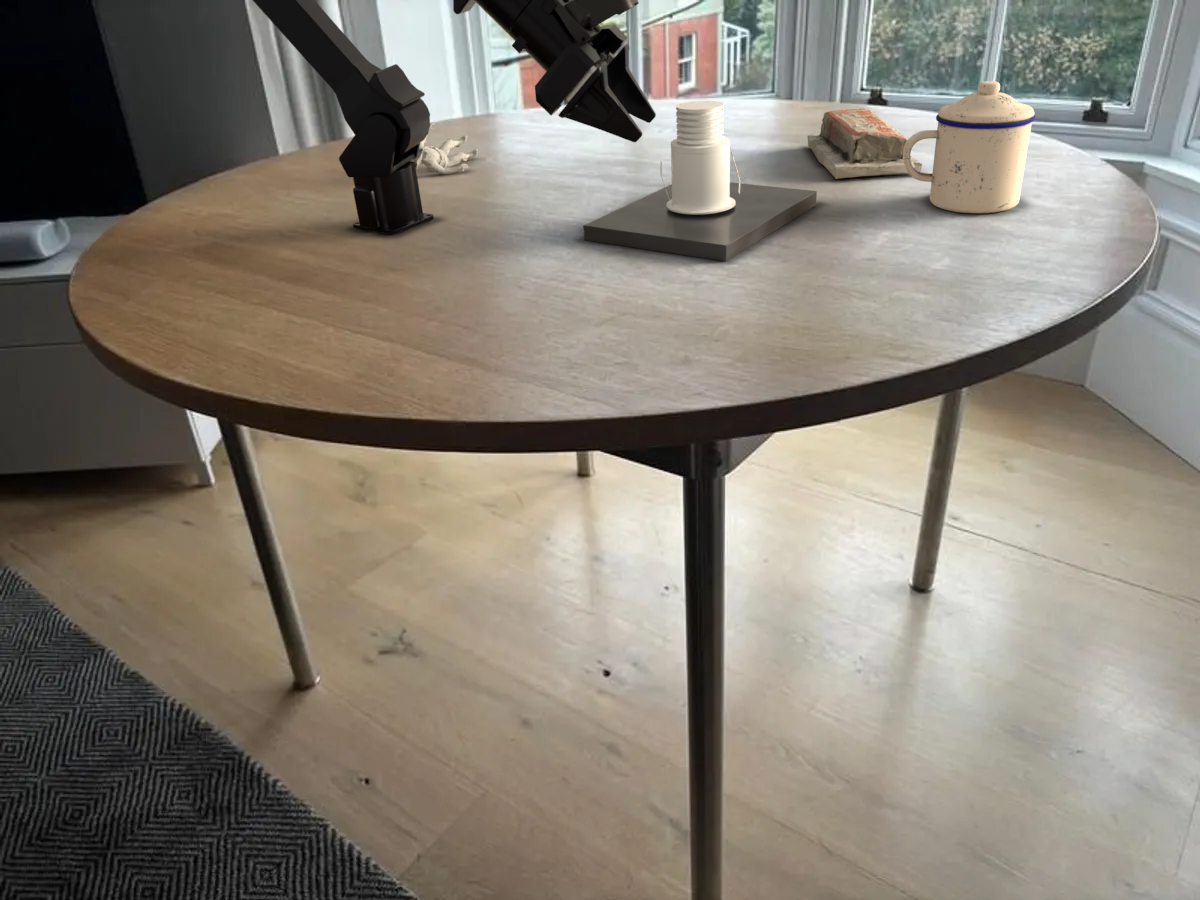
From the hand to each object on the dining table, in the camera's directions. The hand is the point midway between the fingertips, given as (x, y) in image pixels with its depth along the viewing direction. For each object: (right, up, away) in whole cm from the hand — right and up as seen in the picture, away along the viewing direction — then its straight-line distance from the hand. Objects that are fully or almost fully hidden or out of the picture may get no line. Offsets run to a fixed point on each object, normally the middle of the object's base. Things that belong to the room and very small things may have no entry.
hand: (646, 128), depth 92 cm
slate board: (+6, -8, +4) cm, 11 cm away
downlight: (+6, -7, +3) cm, 10 cm away
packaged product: (+27, +3, +22) cm, 35 cm away
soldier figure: (-25, +6, +32) cm, 41 cm away
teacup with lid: (+32, -7, +4) cm, 33 cm away
